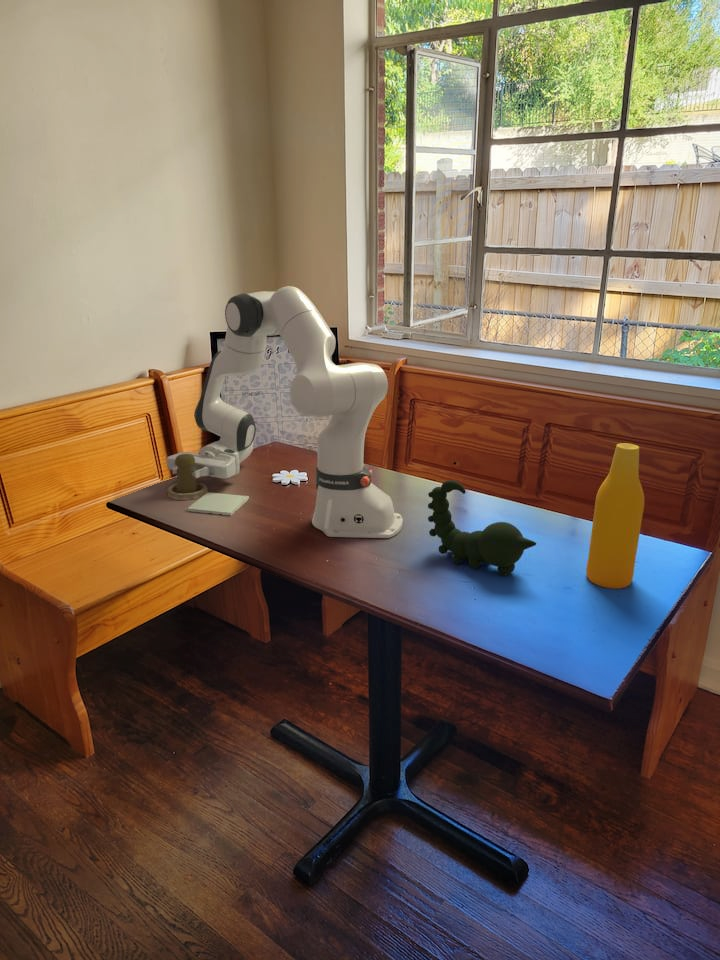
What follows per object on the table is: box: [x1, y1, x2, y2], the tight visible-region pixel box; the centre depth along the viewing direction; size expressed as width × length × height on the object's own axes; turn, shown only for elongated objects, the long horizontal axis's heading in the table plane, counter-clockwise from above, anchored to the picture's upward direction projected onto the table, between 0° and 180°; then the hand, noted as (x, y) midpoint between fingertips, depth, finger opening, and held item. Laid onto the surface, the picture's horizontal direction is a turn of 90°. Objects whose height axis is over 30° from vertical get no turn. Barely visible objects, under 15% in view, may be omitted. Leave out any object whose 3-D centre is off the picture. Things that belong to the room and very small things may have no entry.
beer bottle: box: [585, 442, 645, 590], centre depth 139 cm, size 9×9×29 cm
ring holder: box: [167, 481, 209, 501], centre depth 189 cm, size 10×10×2 cm
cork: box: [175, 454, 200, 494], centre depth 187 cm, size 6×6×11 cm
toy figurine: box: [427, 479, 537, 576], centre depth 146 cm, size 9×19×25 cm
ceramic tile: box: [186, 491, 250, 517], centre depth 181 cm, size 12×12×1 cm
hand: (184, 473), depth 186 cm, fingers open, 5 cm apart
